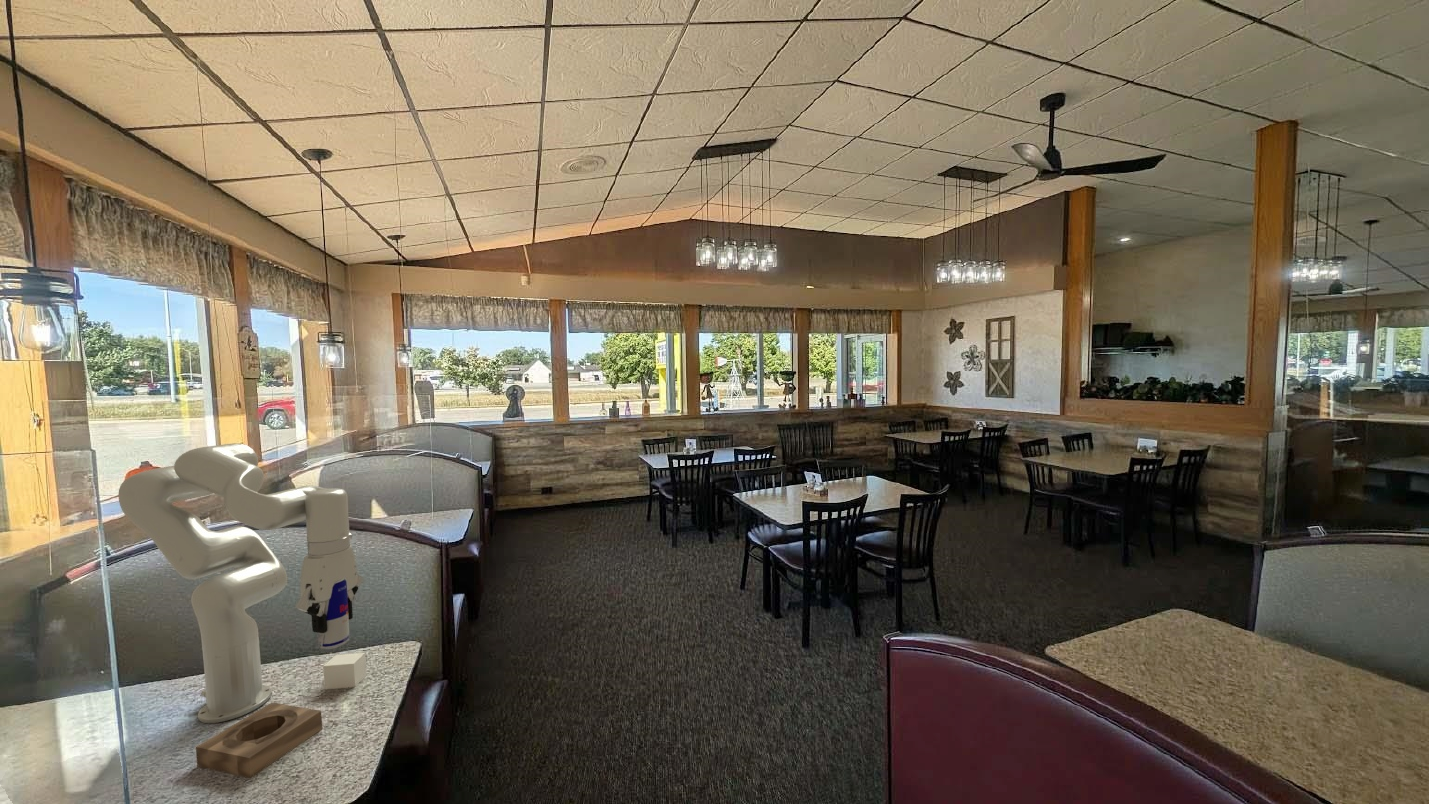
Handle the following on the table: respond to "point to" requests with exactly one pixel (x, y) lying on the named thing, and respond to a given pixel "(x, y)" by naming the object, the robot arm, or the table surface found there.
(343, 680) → the white cube
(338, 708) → the table surface
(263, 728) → the holder
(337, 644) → the beverage can
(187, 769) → the table surface
